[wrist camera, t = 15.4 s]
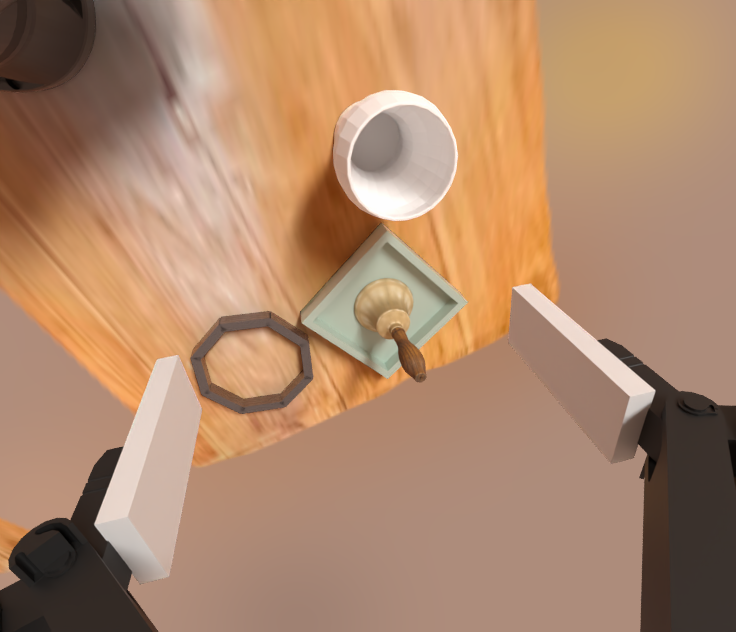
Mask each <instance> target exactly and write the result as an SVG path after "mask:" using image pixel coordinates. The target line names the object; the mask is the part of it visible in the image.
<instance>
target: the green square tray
mask: <svg viewBox="0 0 736 632" xmlns="http://www.w3.org/2000/svg"><path fill="white" fill-rule="evenodd" d="M383 278H392V279H397V280H399V281H401V282H403V283H404V284H406V285H407V286H408V287H409V289H410V290H411V292H412V295H413V301H414V303H413V309H412V312H411V314H410V316H409V318H410V326H409V329H408V331H407V332H406V335H407V337H408V340H409V341H410V342H411V343H412V344H414V345H415V346H416V347H417V348H418V349H420V348H421V347H422V346H423V345H424V344H425V343H426V342H427V341H428V340H429V339H430V338H431V337H432V336H433V335H434V334H435V333H436V332H438V331H439V330H440V329H441V328H442V327H443V326H444V325H445V324H446V323H447V322H448V321H449V320H450V319H451V318H452V317H453V316H454V315H455V314H456V313H457V312H459V311H460V310H461V309H462V308H463V307H464V306H465V305H466V304H467V303H468V302H467V300H466V299H465V298H464V297H463V295H462V294H461V293H460V292H459V291H458V290H457V289H456V288H455V287H453V286H452V285H451V284H450V283H449V282H448V281H447V280H446V279H444V278H443V277H442V276H441V275H440V274H439V273H438V272H437V271H435V270H434V269H433V268H432V267H431V266H430V265H429V264H428V263H426V262H425V261H424V260H423V259H422V258H421V257H420V256H419V255H417V254H416V253H415V252H414V251H413V250H412V249H411V248H410V247H408V246H407V245H406V244H405V243H404V242H403V241H402V240H401V239H400V238H398V237H397V236H396V235H395V234H394V233H393V232H392V231H391V230H389V229H388V228H387V227H386V226H385V225H384V224H383V223H382V222H381V224H380V225H379V226H378V227H377V228H376V229H375V230H374V231H373V232H372V233H371V235H370V236H369V237H368V238H367V239H366V240H365V241H364V242H363V243H362V244H361V246H360V247H359V248H358V249H357V250H356V251H355V252H354V253H353V254H352V255H351V256H350V258H349V259H348V260H347V261H346V262H345V263H344V264H343V265H342V266H341V267H340V269H339V270H338V271H337V272H336V273H335V274H334V275H333V276H332V277H331V278H330V280H329V281H328V282H327V283H326V284H325V285H324V286H323V287H322V288H321V289H320V291H319V292H318V293H317V294H316V295H315V296H314V297H313V298H312V299H311V300H310V301H309V303H308V304H307V305H306V306H305V307H304V308H303V309H302V310H301V311H300V314H301V322H302V324H304V325H305V326H307V327H308V328H310V329H311V330H313V331H315V332H316V333H318V334H319V335H321V336H322V337H324V338H325V339H327V340H328V341H330V342H332V343H333V344H335V345H336V346H338V347H339V348H341V349H342V350H344V351H345V352H347V353H348V354H350V355H352V356H353V357H355V358H356V359H358V360H359V361H361V362H362V363H364V364H365V365H367V366H368V367H370V368H372V369H373V370H375V371H376V372H378V373H379V374H381V375H382V376H384V377H385V378H387V379H388V378H389V377H390V376H391V375H392V374H393V373H395V372H396V371H397V370H398V369H399V368H400V367H401V366H402V365H401V363H400V360H399V356H398V346H397V344H396V342H395V341H394V339H385V338H383V337H382V336H380V335H379V333H378V332H374V331H370V330H368V329H366V328H364V327H363V326H362V325H361V324H360V323H359V322H358V320H357V318H356V316H355V312H354V305H355V300H356V298H357V296H358V294H359V293H360V291H361V290H362V289H363V288H364V287H365V286H366V285H368V284H369V283H371V282H373V281H375V280H378V279H383Z"/></svg>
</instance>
